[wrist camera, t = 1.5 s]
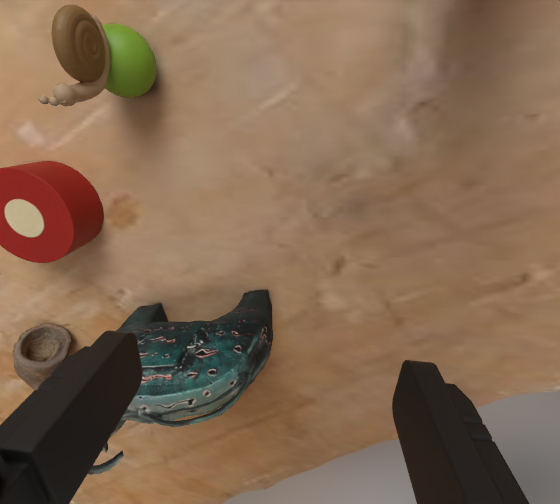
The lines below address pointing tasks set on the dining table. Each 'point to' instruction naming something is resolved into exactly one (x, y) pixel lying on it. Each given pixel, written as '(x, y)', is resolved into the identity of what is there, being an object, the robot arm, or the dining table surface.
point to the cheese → (46, 211)
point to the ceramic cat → (195, 363)
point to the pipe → (40, 353)
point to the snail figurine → (98, 58)
